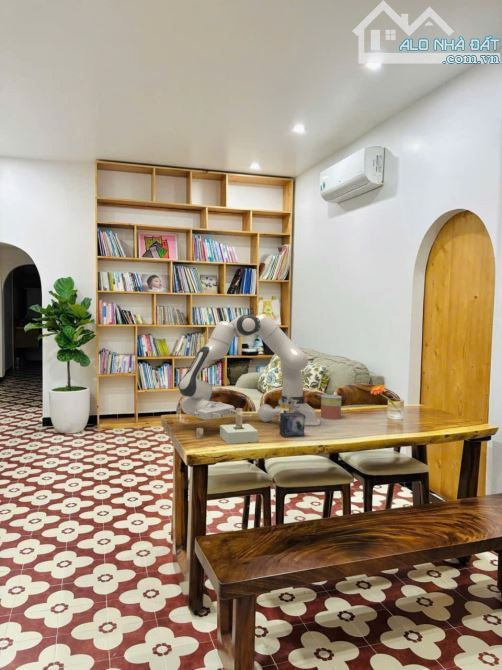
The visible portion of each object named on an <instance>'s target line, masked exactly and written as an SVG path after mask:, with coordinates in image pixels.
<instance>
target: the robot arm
mask: <svg viewBox="0 0 502 670" xmlns="http://www.w3.org/2000/svg"><path fill="white" fill-rule="evenodd" d="M253 334H256V335H257V336H258V337H259V339H261V340H262V341H263V343H264V344H265V345H266V346H267V347H268V348H269V349H270V351H272V352H273V353H274V354H275V355H276V356H277V357H278V358H279V361H280V371H281V380H282V382H281V383H282V384H281V389H282V390H281V394H280V400H281V401H282V402H283V403H284V402H285V401H286V400H287V397H286V395H287V396H288V397H289V398H290V397H291V398H292V399H293V400H294V401H295V400H296V401H297V403H296V405H297V404H300V408H297V409H298V410H299V412H301V413H302V414H304V415H305V424H304V426H321V419H319V418H317V417H318V416H317V412H316V410H315V409H314V408H313V407H312V406H310V405H309V404H308V403H307V402H308V398H307V397H306V396H305V395H304V393H303V392H304V380H303V376H302V371H303V370H304V369H306V368H307V366H308V364H309V359H308V356H307V354H306V353H305V352H303V350H301V348H300V347H299V346H298V345H297V344H296V343H295V342H294V341H293V340H292V339H290V337H289V336H288V335H286V333H285V332H284V331H283V330H282V329H281V328H280V326H279V325H278V324H277V323H276V322H275V321H274V320H273V319H272V318H271V317H269V316H268V315H266V314H265V313H260V314H257V315H256V316H254V315H251V314H242V315H238V316H236V317H234V318H232V319H231V320H230V321H226V320H221V321H219V322H218V323H217V324H216V326H215V327H214V329H213V331H212V333H211V335H210V337H209V340H208V341H207V343H206V344H205V345H204V346H203V347H201V348H200V349H199V350H198V351H197V353H196V355H195V357H194V358H193V360H192V362H191V364H190V365H189V367H188V369H187V371H186V373H185V374H184V375H183V376H182V378H181V379H180V380H179V383H178V390H179V392H180V395H181V396H184V398H182V401H181V404H180V406H181V407H180V408H181V410H182V411H183V412H184V413H185V414H186V415H189V416H191V417H197V418H198V419H201V420H206V421H207V420H212V419H222V418H223V417H225V416H230V415H231V416H236V410H235V406H234V405H231V404H227V403H223V402H222V401H213V400H212V401H211V398H212V395H213V387H212V385H211V384H210V383H209V382H207V381H205V380H202V379H199V378H198V377H199V375H200V373H201V371H202V370H203V368H204V366H205V364H206V363H207V362H210V361H214V360H215V361H216V360H220V359H223V358H225V357H226V355H228V353H229V350H230V348H231V345H232V343H233V340H234V339H235V338H236V337H237V338H238V337H241V338H242V337H243V338H245V337H249V336H251V335H253ZM285 394H286V395H285ZM287 401H288V400H287ZM290 403H291V402H289V403H288V404H289V405H290ZM293 404H294V402H293ZM292 412H294V411H292ZM279 418H280V415H279V416H278V419H277V421H278V423H280V419H279Z"/></svg>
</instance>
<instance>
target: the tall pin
mask: <svg viewBox="0 0 502 670" xmlns="http://www.w3.org/2000/svg"><path fill="white" fill-rule="evenodd" d="M235 411H236V415H235V424H236V425H235V430H237V429H242V424H243V408H241V407H237V408H235Z"/></svg>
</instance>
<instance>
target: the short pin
mask: <svg viewBox="0 0 502 670" xmlns="http://www.w3.org/2000/svg"><path fill="white" fill-rule="evenodd" d="M195 435H196V440H203V439H204V428H203V427H198V428H197V427H196V434H195Z"/></svg>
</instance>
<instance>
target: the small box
mask: <svg viewBox="0 0 502 670" xmlns="http://www.w3.org/2000/svg"><path fill="white" fill-rule="evenodd" d="M279 416H280V422H279V433H278V434H279V435H280V436H281V437H283V438H295V437H296V438H297V437H299V438H300V437H301V438H302V437H305V425H304V424H305V415H304V414H302V413H301V412H292V413H280V414H279Z"/></svg>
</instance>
